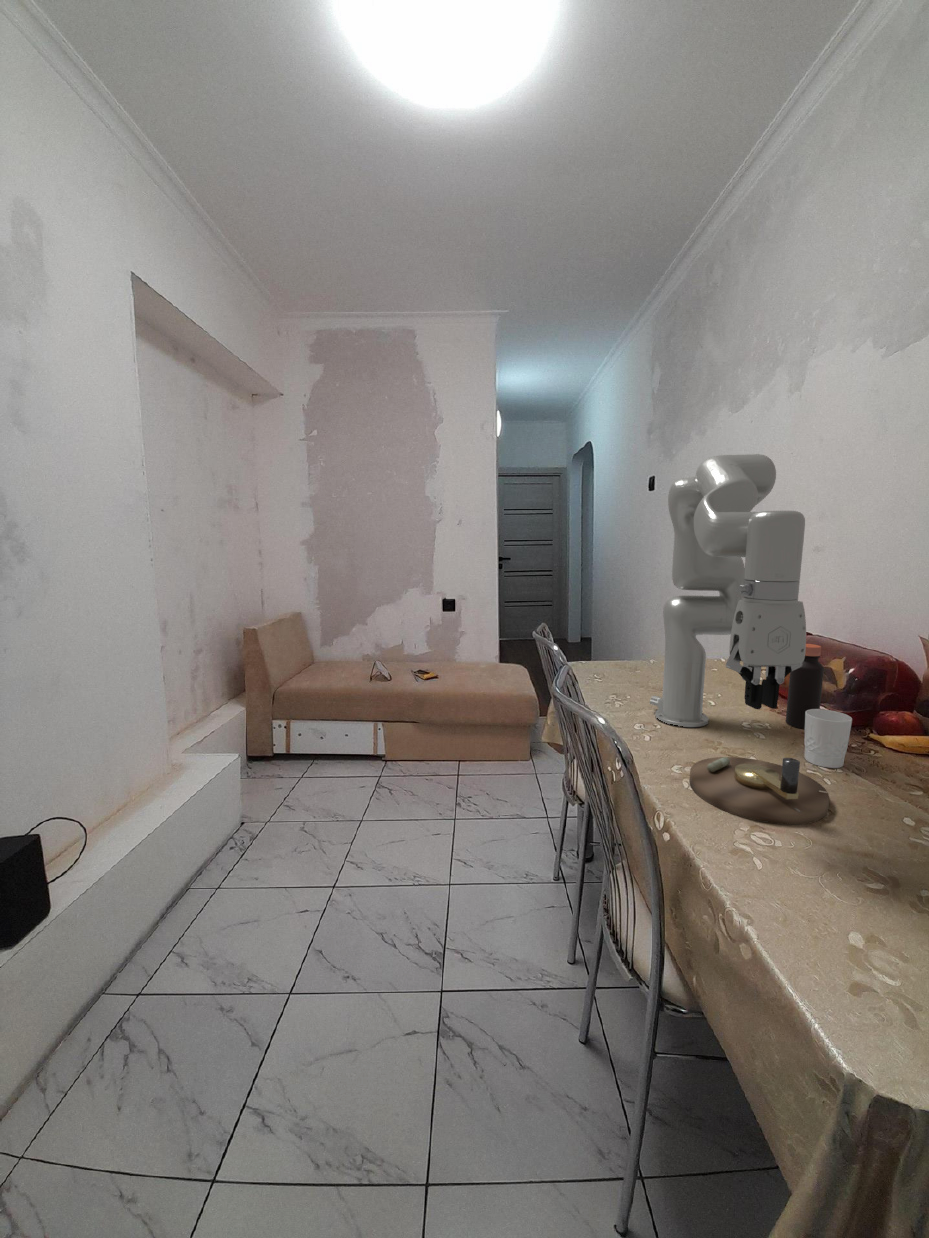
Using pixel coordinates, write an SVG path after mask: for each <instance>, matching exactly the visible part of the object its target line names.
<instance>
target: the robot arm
mask: <svg viewBox="0 0 929 1238" xmlns="http://www.w3.org/2000/svg"><path fill="white" fill-rule="evenodd" d="M772 460H773V459H771V458H770V457H769V456H767V455H765V454H760V453H759V454H757V453H756V454H753V453H752V454H721V455H720V454H719V455H716V456H712V457H708V458H707V459H705V460H704V461H703V462H701V463H700V465H699V466H698V468H697V470H696V472H695V476H691V477H685V478H684V477H683V478H681V479H677V480H675V481H674V482H673V483H672V484H671V485H670V488H669V489H668V490H669V491H668V496H667V502H668V503H667V504H668V505H667V506H668V511H669V516H670V519H671V523H672V527H673V532H674V535H673V536H674V538H673V550H672V552H673V553H672V566H671V567H672V570H671V572H672V574H671V575H672V577H671V578H672V583H673V585H674V586H675V588H677V589H679V590H684V591H701V592H702V591H710V592H711V591H713V592H716V591H717V592H718V593H719V596H718V595H676V596H673V597H671V598H669V599H667V600H666V602H665V603H664V605H663V611H662V613H663V615H662V616H663V617H662V618H663V624H664V663H663V665H664V666H663V682H662V697H661V696H658V695H655V694H654V695H651V697H650V700H649V704H650V705H652V706H657V710H655V712H654V717H655V716H656V717H655V719H657V718H658V719H659V720H661V721H663V722H662V723H664V722H665V724H666V723H667V725H670V724H673V725H672V726H674V725H678V726H677V727H680V726H683V728H699V727H704V726H706V725H708V724H709V716H708V715H707V714H705V713H704V712H703V709H704V708H703V704H704V694H705V693H704V692H705V691H704V690H705V675H706V661H707V653H706V649H705V647H704V646H703V645H702V643H701V642H700V641H699V640H698V639H697V637H696V636H700V635H701V636H703V635H705V636H706V635H710V636H711V635H713V636H714V635H715V636H718V635H719V636H727V635H728V636H729V635H730V637H729V639H730V640H729V656H728V659H727V661H726V662H725V668H727V669H729V670H731V671H735V672H737V673H738V675H740V677H742V678H741V679H742V680H743V681H745V686H744V703H745V705H746V706H748V707H750V708H753V709H755V710H761V709H762V706H763V705H764V706H766V707H768V708H770V709H772V710H775V709H777V708H778V702H779V695H780V685H782V684H784V682H785V678H786V677H787V676H788V675H790V672H791V671H794V670H796V669H798V668H800V667H801V666H802V662H803V661H804V658H805V651H806V644H807V621H806V620H807V619H806V612H805V607H804V602H803V601H800V600H799V596H800V595H799V593H800V592H799V591H800V583H801V582H800V581H801V571H802V570H801V569H802V559H803V550H804V549H803V548H804V539H805V532H806V531H805V529H806V517H805V515H804V514H803V513H801V512H799V511H796V510H766V511H763V510H762V511H752V510H753V509H755V507H756V506H757V505H759V504H760V503H761V502H762V501H763V500H764V499H766V497H768V495H769V494H770V493H771V492H772V489H774V486H775V483H776V480H777V470H776V469H777V468H776V465H775V463H774V462H773V461H772ZM743 558H744V559H745V560H744V559H743ZM741 662H743V663H742V664H741ZM763 667H764V668H765V667H766V668H765V679H764V678H763V679H761V675H762V668H763ZM658 719H657V720H658ZM659 720H658V721H659ZM661 721H660V722H661Z"/></svg>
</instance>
